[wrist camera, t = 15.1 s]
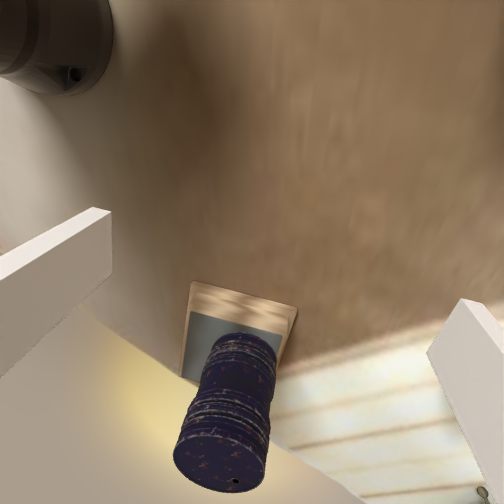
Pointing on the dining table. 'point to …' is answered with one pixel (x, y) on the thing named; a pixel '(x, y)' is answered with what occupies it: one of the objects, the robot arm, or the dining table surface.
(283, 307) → the plinth
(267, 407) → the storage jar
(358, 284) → the dining table surface
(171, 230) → the dining table surface
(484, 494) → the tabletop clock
